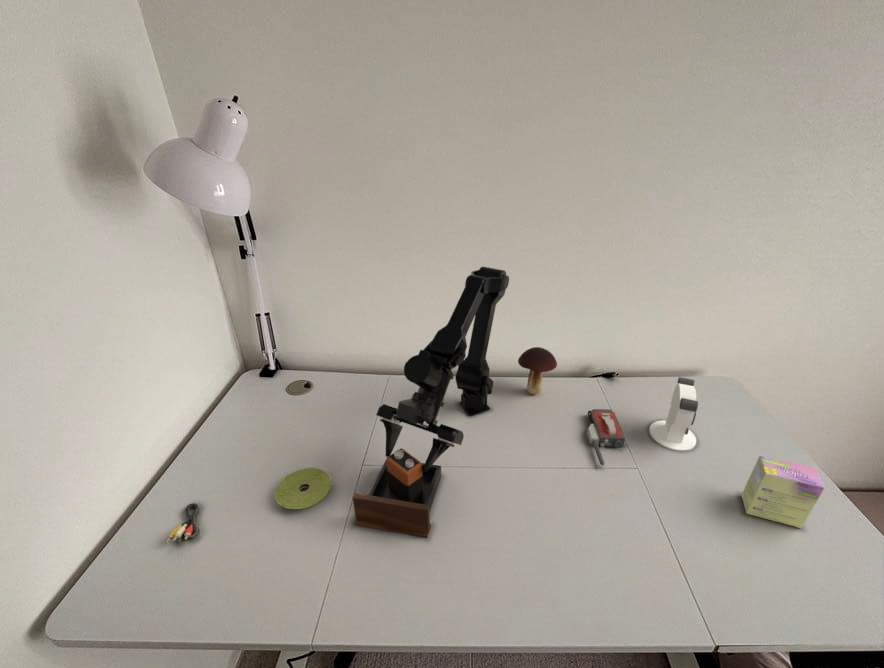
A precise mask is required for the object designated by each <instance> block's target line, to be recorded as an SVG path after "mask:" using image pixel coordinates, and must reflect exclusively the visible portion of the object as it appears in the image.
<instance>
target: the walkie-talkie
mask: <svg viewBox="0 0 884 668" xmlns="http://www.w3.org/2000/svg"><path fill="white" fill-rule="evenodd" d="M587 417H588V420H589V427H587V432H586V435H587V438H588V443H589V445H592V446H593V448H594V450H595V453H596V456H597V460H598V463H599V464H600V465H601V466H604V465H605V461H604V458H603V455H602V453H601V452H602V451H601V450H600V447H602V448H604V447H615V448H621V447H624V445H625V441H626V435H625V433H624V431H623V429H622V427H621V424H620V422H619V420H618V417H617V416H616V413H615V411H614V410H612V409H610V408H609V409H608V408H607V409H606V408H604V409H603V408H593V409H592V410H588V411H587Z"/></svg>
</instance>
